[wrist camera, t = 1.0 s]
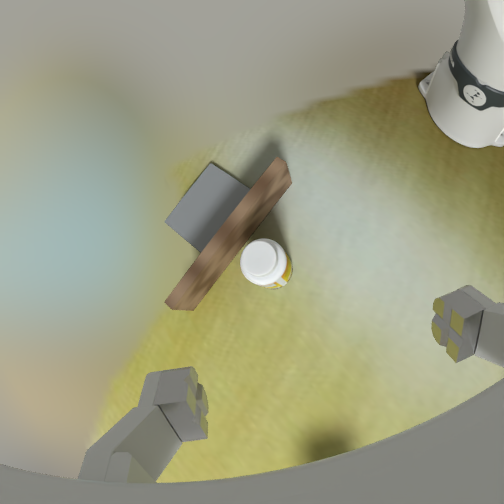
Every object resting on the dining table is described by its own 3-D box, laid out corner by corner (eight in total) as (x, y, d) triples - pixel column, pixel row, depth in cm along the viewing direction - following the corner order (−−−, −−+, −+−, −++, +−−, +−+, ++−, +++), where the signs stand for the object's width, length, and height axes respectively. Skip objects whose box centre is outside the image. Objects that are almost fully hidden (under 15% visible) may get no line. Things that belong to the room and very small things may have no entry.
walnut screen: (284, 177, 47) (277, 156, 40) (292, 183, 46) (286, 162, 40) (186, 304, 47) (164, 302, 40) (193, 310, 46) (172, 309, 39)
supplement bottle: (278, 243, 45) (265, 223, 35) (300, 274, 44) (294, 263, 34) (246, 265, 46) (225, 252, 36) (267, 297, 44) (251, 293, 34)
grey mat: (212, 165, 50) (210, 162, 49) (254, 192, 47) (253, 191, 47) (166, 223, 50) (164, 221, 49) (205, 255, 47) (203, 254, 47)
